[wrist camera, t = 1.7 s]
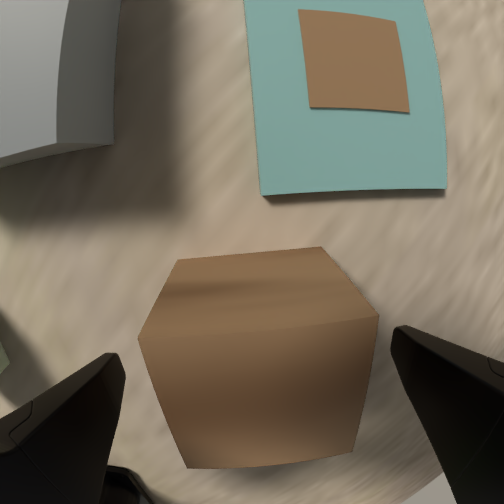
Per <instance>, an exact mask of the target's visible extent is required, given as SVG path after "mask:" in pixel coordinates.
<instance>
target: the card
mask: <svg viewBox="0 0 504 504" xmlns="http://www.w3.org/2000/svg"><path fill="white" fill-rule="evenodd" d="M243 1H244V11H245V21H246V32H247V43H248V54H249V65H250V76H251V87H252V99H253V111H254V123H255V135H256V147H257V160H258V172H259V185H260V194H261V196H263V195H276V194H291V193H306V192H324V191H345V190H372V189H447V153H446V132H445V118H444V108H443V98H442V90H441V83H440V76H439V70H438V64H437V58H436V53H435V48H434V43H433V38H432V34H431V29H430V25H429V21H428V17H427V14H426V10H425V6H424V3H423V0H243Z"/></svg>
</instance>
